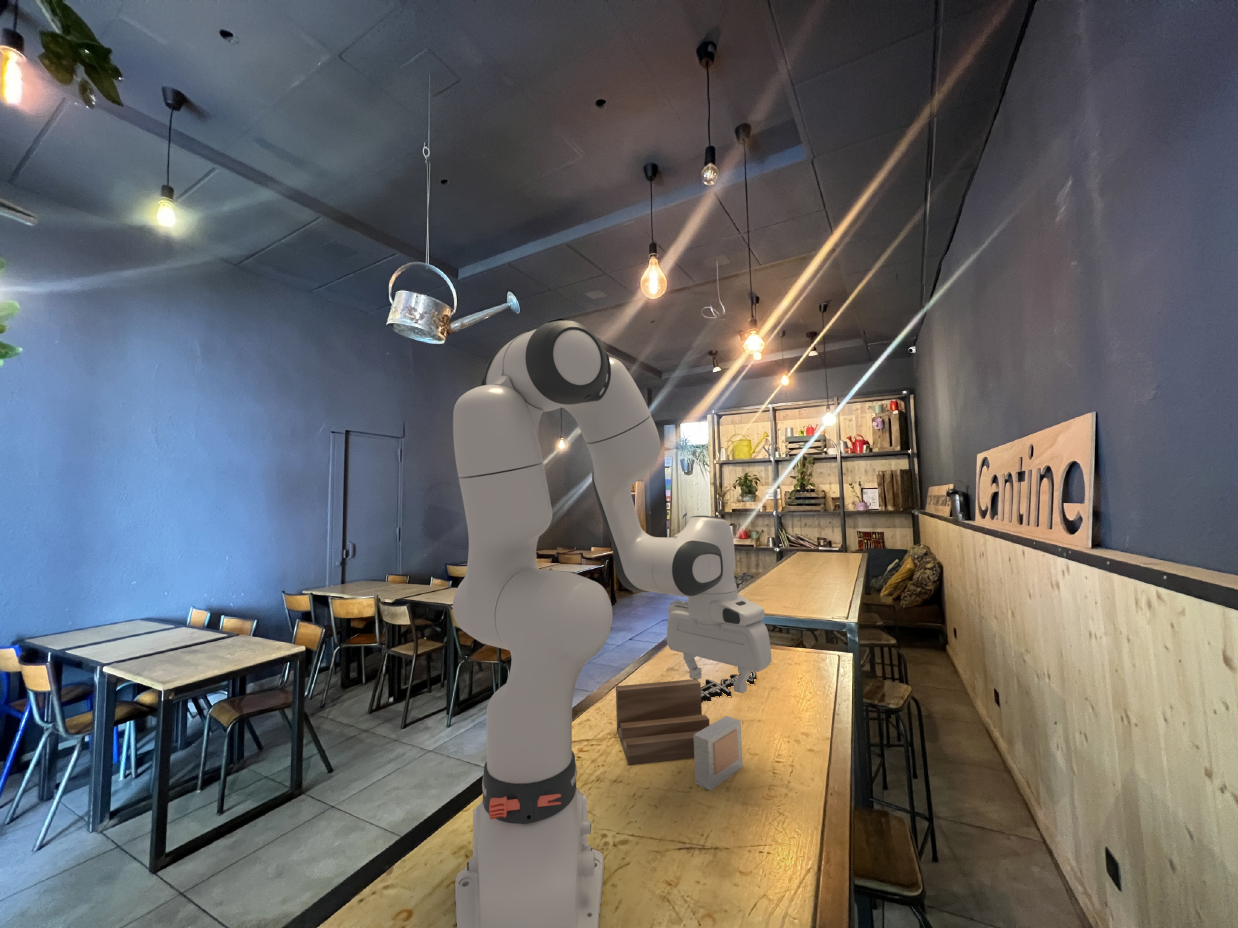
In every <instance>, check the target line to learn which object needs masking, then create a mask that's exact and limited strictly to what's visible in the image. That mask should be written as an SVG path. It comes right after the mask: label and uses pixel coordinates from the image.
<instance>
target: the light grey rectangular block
mask: <svg viewBox="0 0 1238 928" xmlns="http://www.w3.org/2000/svg"><path fill="white" fill-rule="evenodd" d="M741 725H742V722H741V720H740V719H737V718H734V717H731V716H728V715H725V716H724V717H722V718H720V719H719V720H717V721H715V722H713V723H711V724H710V726H708V727H706V728H704V729H703V730H701V731H699V732H697V733H696V734H694V757H693V759H694V776H695V777H694V780H695V781H694V782H695V785H697V786H700V787H702V788H703V789H705V790H708V791H710V792H711V791H712V790H714V789H715V788H717V786H719V785H720V784H722V783H724V781H726V780H727V779H728V778H730V777H731V776H732V775H734V774H735V773H736V772H738V771H739V770H741V769H742V768H743V763H744V761H743V750H742V749H743V746H742V745H743V744H742V743H743V741H742V726H741Z"/></svg>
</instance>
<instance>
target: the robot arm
mask: <svg viewBox="0 0 1238 928" xmlns="http://www.w3.org/2000/svg"><path fill="white" fill-rule="evenodd" d="M562 408H563V409H565V410H566V411H567V412H568V413H569V414H570V415H571V416H572V417H573V419H574V420H575V421H576V423H577V425H578V428H579V430H580V432H581V435H582V438H583V440H584V442H585V445H586V447H587V449H588V452H589V454H590V457H591V460H592V467H593V469H592V471H591V483H592V488H593V491H594V495H595V498H596V502H597V505H598V508H599V511H600V514H601V516H602V519H603V520H602V521H603V522H604V525H605V529H606V532H607V534H608V537H609V541H610V543H611V544H610V545H611V549H612V553H613V563H614V568H615V573H616V576H617V578H618V580H619V582H620V583H621V585H622V586H623V587H624V588H626V589H627V590H629V591H631V592H639V593H656V594H662V595H673V596H679V597H685V598H686V597H687V601H681V600H678V599H674V600H673V601H672V602H671V603H670V604H669V605H668V607H667V609H668V610H667V611H668V613H667V614H668V618H667V625H666V626H667V627H666V643H667V647H668V648H669V649H670V651H673V652H674V651H675V652H678V653H682V654H683V656H682V657H683V660H684V663H685V664H686V666H687V668H688V670H689V678H690V680H691V679H695V680H698V681H699V679H702V675H703V674H702V668H701V667H699V666H698V664H697V661H696V659H695V658H696V657H698V658H702V659H706V660H710V661H713V662H717V663H722V664H724V665H728V666H734V667H737V672H738V674H741V675H740V678H739V679H737V680H735V681H733V684H734V688H733V690H734V692H735V693H736V692H737V693H739V694H741V695H742V694H744V693H746V692H747V689H748V687H747V683H746V681H747V679H748V678H749V676H750V674H751V672H752V671H755V672H756V673H757V672H761V671H763V670H765V669H767V668H768V667H769V666H770V665H771V663H772V648H771V641H770V635H769V631H768V628H767V626H766V624H765V623H764V622H763V621H762V620H764V618H765V613H766V612H765V608H764V607H763V606H761V605H760V604H757V603H755V602H753V601H752V600H749V599H747V598H746V597H744V596H742V595H740V594H738V587H737V583H736V580H735V569H736V553H735V551H736V550H735V543H734V537H733V533H732V532H733V531H732V528H731V525H730V522H729V521H728V520H726V519H725V518H722V517H720V516H715V515H712V516H711V515H693V516H690V517H688V518H687V521H686V526H685V527H684V528H683V529H682V530H681V531H680V532H678V533H676V534H675V535H673V537H663V536H662V537H658V536H657V537H656V536H652V535H650V534H648V533H646V531H645V530H643V528H642V526H641V523H640V521H639V517H638V513H637V509H636V507H635V504H634V501H633V500H634V499H633V497H632V487H633V485H634V484H635V483H637V482H638V481H639V480H641V479H643V478H644V477H645V476H646V475H647V474H648V473H650V471H651V470H652V469H653V468H654V466H655V464H656V463H657V461H658V459H659V457H660V456H659V455H660V453H661V447H662V446H661V439H660V435H659V432H658V431H659V430H658V429H657V426H656V423H655V421H654V419H653V417H652V414H651V411H650V409H649V407H648V405H647V403H646V400H645V399H644V397H643V395H642V393H641V391H640V389H639V387H638V386H637V383H636V382H635V380H634V378H633V377H632V375H631V374H630V372H629V371H628V370H627V367H625V365H624V364H623V363H622V362H621V361H620V360H619V359H617V358H615V357H611V356H609V355H608V353H607V352H606V351H605V349H604V347H603V345H602V343H601V342H600V340H599V339H598V337H597V336H596V335H595V334H594V333H593V332H592V331H591V330H590V329H589V328H588V327H586V326H585V325H583V324H582V323H580V322H577V321H574V320H566V319H565V320H555V321H551V322H546V323H544V324H543V325H540V326H539V327H538V328H536V329H533V330H530V331H527V332H524V333H522V334H520V335H518V336H516V337H515V338H513V339H512V340H510V341H509V342H508V343H506V344H505V345H503V346H502V347H499V348H498V349H497V350H496V351H495V352H494V353H493V354H492V356H491V357H490V359H489V360H488V363H487V364H486V367H485V370H484V374H483V378H482V381H481V384H480V386H476V387H474V388H472V389H470V390H468V391H466V392H465V393H463V394H462V395H461V396H459V397H458V399H457V401H456V403H455V405H454V406H453V415H452V417H453V419H452V431H453V435H452V436H453V449H454V457H455V464H456V470H457V476H458V482H459V486H460V492H461V496H462V497H461V498H462V504H463V508H464V514H465V519H466V525H467V534H468V555H467V565H466V571H465V575H464V578H463V579H462V580H461V582H460V583H459V585H458V586H457V588H456V590H455V593H454V596H453V601H452V613H453V614H452V615H453V617H454V618H453V619H454V621H455V623H456V625H457V626H458V627H459V628H460V630H461V631H463V632H465V633H466V634H467V635H469V636H470V637H472V638H473V639H475V640H476V641H477V642H479V643H481V644H483V645H487V646H492V647H495V648H499V649H503V650H507V651H509V652H510V658H511V661H510V663H511V665H510V669H509V675H508V677H507V681H506V683H504V684H503V685H502V686H500V687H499V688H498V689H497V690H496V691H495V692H494V693H493V695H491V697H490V699H489V701H488V703H487V708H486V761H485V763H484V765H483V774H482V781H481V782H482V784H481V787H482V788H481V790H482V801H481V802H480V803H479V804H478V805H476V807H475V808H474V810H473V811H472V858H468V861H467V862H466V864H467V865H466V867H465V868H463V869H462V870H461V871H459V872H458V874H457V875H456V876H455V883H454V898H455V899H454V902H455V901H456V908H455V923H456V922H457V928H598V927H599V928H600V926H599V925H600V918H599V913H600V914H601V907H600V904H601V903H602V895H603V893H602V892H603V884H604V883H603V882H604V871H605V859H604V855H603V853H602V852H600V851H599V850H597V849H595V848H592V845H590V844H589V835H590V834H591V833H592V821H591V820H588V807H587V805H588V801H587V796H586V795H584V792H583V793H582V792H581V791H580V790H579V789H578V788H577V772H578V771H577V763H576V755H575V754H576V753H574V750H573V738H572V737H573V729H572V728H573V701H574V694H575V690H576V687H577V682H578V680H579V677H580V675H581V671H582V670H583V668H584V666H585V665H586V664H587V663H588V662H589V661H590V660H591V659H592V658H593V657H595V656H596V655H597V654H598V653H599V652H600V651H601V650H602V648H603V647H604V645H605V644H606V642H607V640H608V638H609V636H610V632H611V630H612V625H613V606H612V602H611V599H610V597H609V593H608V592H607V590H606V589H605V588H604V586H603V585H601V584H600V583H599V582H597V581H595V580H592V579H590V578H588V577H585V576H582V575H580V574H577V573H574V572H571V571H566V570H553V569H551V570H550V569H540V567H539V566H538V562H537V548H538V547H537V546H538V541H539V539H540V538H539V537H540V536H542V535H543V534H544V533H545V531H547V530H548V528H549V527H550V525H551V523H552V519H553V508H552V504H551V497H550V496H551V495H550V492H549V485H548V480H547V475H546V469H545V463H544V458H543V455H542V450H541V449H542V448H541V445H540V441H539V428H540V426H539V425H540V421H541V418H542V415H543V413H546V412H551V411H555V410H558V409H562ZM601 905H602V904H601Z"/></svg>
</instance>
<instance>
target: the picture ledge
mask: <svg viewBox="0 0 1238 928" xmlns="http://www.w3.org/2000/svg"><path fill="white" fill-rule="evenodd" d="M701 687H702V685H701V682H700V681H699V679H698V680H695V679H691V678H690V679H683V680H682V679H680V680H668V681H660V682H657V681H656V682H647V683H637V684H636V683H635V684H625V685H616V686H615V702H616V703H615V704H616V705H615V706H616V710H615V711H616V732H617V734H618V737H619V740H620V743H621V746H622V749H623V752H624V755H625V758H626V761H627V764H628V766H629V765H630V766H631V765H637V764H639V765H640V764H649V763H650V764H651V763H656V762H657V763H658V762H664V761H665V762H667V761H674V760H682V759H694V734H696V733H697V732H699V731H701V730H703V729H704V728H706V727H708V726H710V725H711V724H710V718H709V717H708V716H707V714H703V713H702V712H703V711H702V707H703V706H702V703H701Z"/></svg>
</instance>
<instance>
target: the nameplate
mask: <svg viewBox="0 0 1238 928" xmlns="http://www.w3.org/2000/svg"><path fill="white" fill-rule="evenodd" d="M751 673H752V676H751V675H750V676H749V678H748V679H747V682H749V683H750V684H754V685H755V682H754V679H756V678H758V677H757V672H756V671H752V672H751ZM740 675H741V673H738V674H737V673H736V674H734V673H733V674H730V675H729V678H722V679H721V680H720V683H719V682H717V681H714V680H713V679H709V678H708V679H707V678H706V679H705V685H703V686H701V704H702V703H704V702H708V701H711V702H712V698H711V697H714V698H716V697H715V696H719V697H718V698H721V697H720V696H722V697H723V695H724V694H726V695H727V696H731V697H732V691H731V690H730V688H729V689H728V687H731V686H734V684H733V681H735V680H737V679H739V678H740ZM730 678H731V679H730ZM706 684H707V685H706ZM722 692H723V693H724V694H723V693H722ZM726 695H725V696H726ZM727 696H726V697H727Z"/></svg>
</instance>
